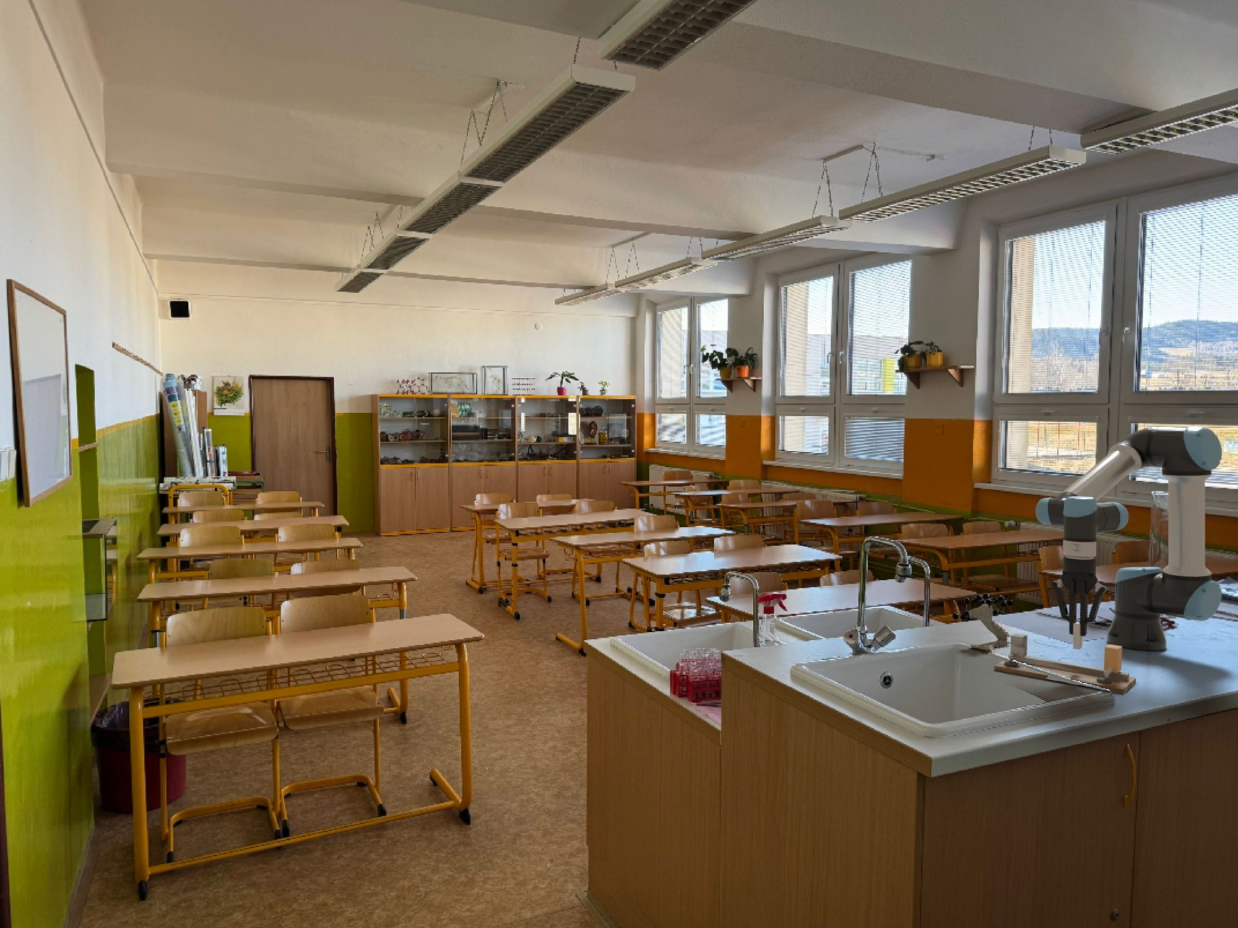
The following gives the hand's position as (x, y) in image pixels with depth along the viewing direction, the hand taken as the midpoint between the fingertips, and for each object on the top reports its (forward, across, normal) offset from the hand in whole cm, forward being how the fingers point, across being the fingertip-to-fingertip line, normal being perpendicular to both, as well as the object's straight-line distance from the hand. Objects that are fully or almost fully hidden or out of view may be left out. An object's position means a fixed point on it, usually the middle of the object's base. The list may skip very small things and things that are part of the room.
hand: (1077, 647), depth 224 cm
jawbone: (+8, -28, +15) cm, 32 cm away
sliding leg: (+5, +8, -3) cm, 10 cm away
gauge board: (+7, -2, -4) cm, 8 cm away
